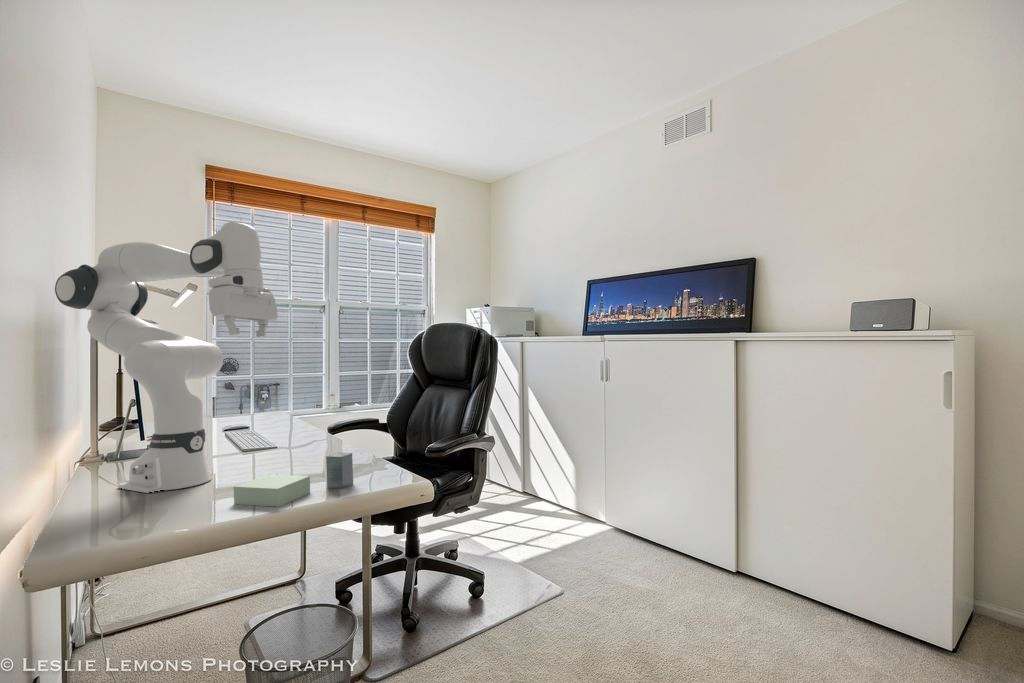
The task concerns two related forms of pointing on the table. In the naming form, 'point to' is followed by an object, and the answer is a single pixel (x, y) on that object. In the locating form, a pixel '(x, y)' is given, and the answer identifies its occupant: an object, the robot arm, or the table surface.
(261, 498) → the stand
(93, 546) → the table surface
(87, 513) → the table surface
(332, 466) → the block
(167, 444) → the robot arm
